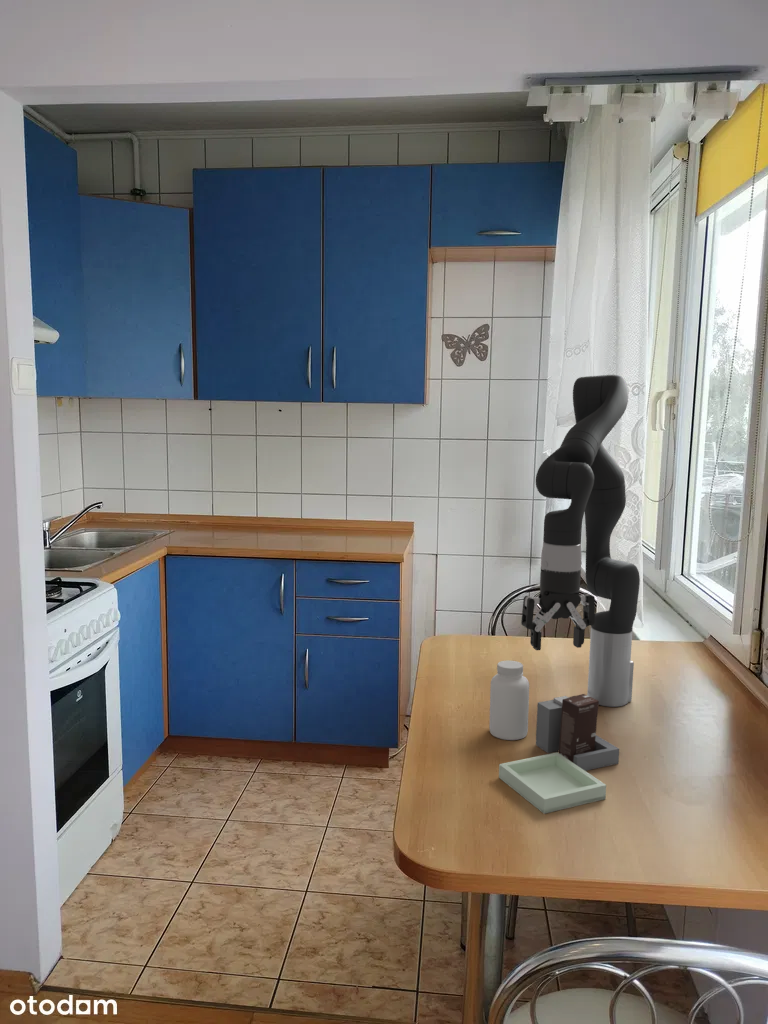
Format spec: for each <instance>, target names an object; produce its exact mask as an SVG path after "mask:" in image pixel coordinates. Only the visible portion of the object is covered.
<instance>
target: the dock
mask: <svg viewBox="0 0 768 1024" xmlns="http://www.w3.org/2000/svg"><path fill="white" fill-rule="evenodd" d="M570 697H571V696H567V695H564V696H558V697H557V696H556V697H553V699H549V700H544V701H539V702H538V701H537V706H536V707H537V708H536V709H537V710H536V713H537V714H536V728H535V732H536V733H535V745H536V747H538V748H540V749H541V750H542V751H544V752H546V754H551V753H556V752H559V738H560V726H561V714H562V700H563V699H566V698H570ZM619 757H620V748H619V747H618V746H615V744H612V743H610V742H608V740H606V739H603V738H602V737H600V736H599V735H597V734H596V738H595V749H594V751H593V752H588V753H583V754H578V755H574V760H573V763H574V764H576V765H577V766H579V767H580V768H582V769H583V770H585V771H586V772H587V771H591V770H595V769H600V768H605V767H608V766H614V765H617V764H618V765H619V760H620V759H619Z"/></svg>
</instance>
